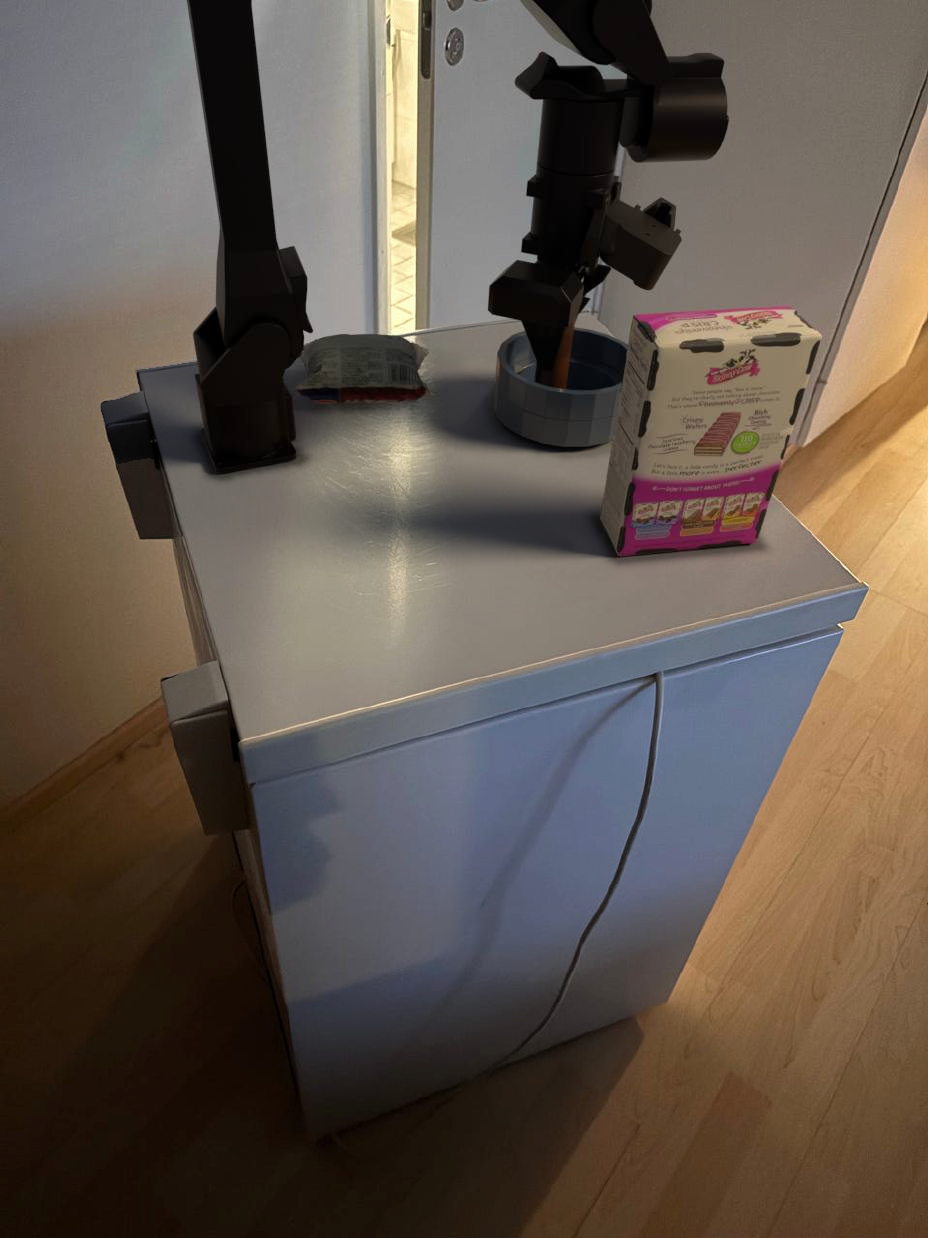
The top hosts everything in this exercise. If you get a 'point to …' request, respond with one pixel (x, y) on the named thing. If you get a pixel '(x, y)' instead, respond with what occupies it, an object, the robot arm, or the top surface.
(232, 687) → the top surface
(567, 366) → the brown wooden cylinder
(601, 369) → the bowl
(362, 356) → the packaged food
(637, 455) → the candy bar box
